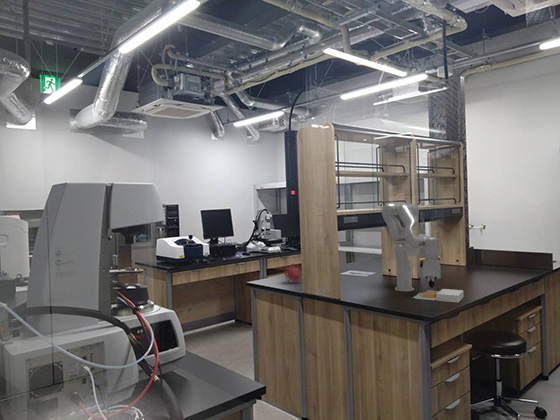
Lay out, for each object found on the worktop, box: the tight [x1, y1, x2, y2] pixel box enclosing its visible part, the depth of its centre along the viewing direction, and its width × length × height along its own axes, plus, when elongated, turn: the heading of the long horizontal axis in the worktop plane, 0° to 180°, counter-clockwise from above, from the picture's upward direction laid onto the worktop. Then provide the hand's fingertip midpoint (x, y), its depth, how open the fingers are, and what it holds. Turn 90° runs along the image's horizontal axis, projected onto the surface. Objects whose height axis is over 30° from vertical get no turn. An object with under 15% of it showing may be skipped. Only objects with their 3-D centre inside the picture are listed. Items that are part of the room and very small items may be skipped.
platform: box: [435, 288, 465, 303], centre depth 247 cm, size 16×12×4 cm
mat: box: [412, 292, 437, 301], centre depth 255 cm, size 16×13×1 cm
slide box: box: [421, 290, 440, 299], centre depth 254 cm, size 10×7×2 cm
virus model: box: [284, 263, 302, 283], centre depth 316 cm, size 15×15×15 cm
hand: (431, 287), depth 253 cm, fingers closed
